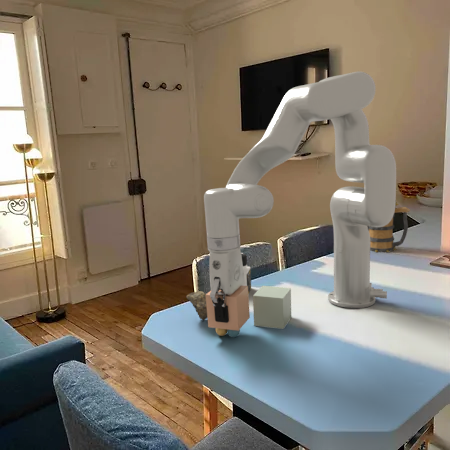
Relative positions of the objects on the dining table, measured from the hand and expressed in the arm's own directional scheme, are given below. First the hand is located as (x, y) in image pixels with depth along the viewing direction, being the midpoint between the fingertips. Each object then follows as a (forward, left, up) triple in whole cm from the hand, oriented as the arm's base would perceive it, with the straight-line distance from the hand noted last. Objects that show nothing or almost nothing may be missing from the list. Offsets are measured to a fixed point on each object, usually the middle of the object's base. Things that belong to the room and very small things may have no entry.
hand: (228, 314), depth 105 cm
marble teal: (-1, 0, -5) cm, 5 cm away
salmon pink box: (0, 0, -2) cm, 2 cm away
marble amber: (+2, 0, -5) cm, 6 cm away
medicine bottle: (+9, -29, -6) cm, 31 cm away
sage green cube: (-8, -11, -5) cm, 14 cm away
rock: (+10, -6, -6) cm, 13 cm away
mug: (-31, -89, -6) cm, 94 cm away
